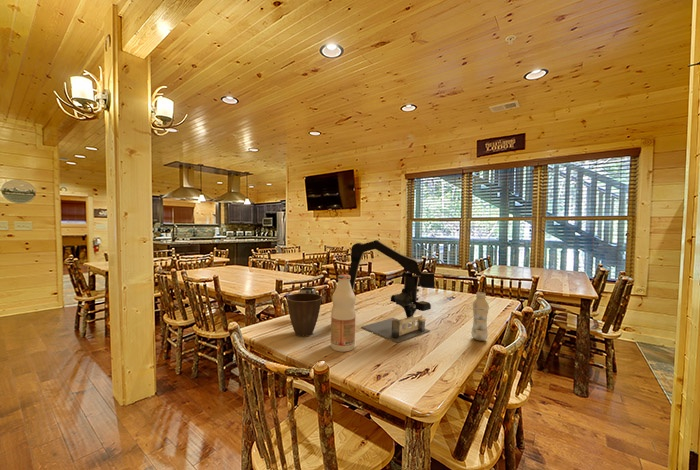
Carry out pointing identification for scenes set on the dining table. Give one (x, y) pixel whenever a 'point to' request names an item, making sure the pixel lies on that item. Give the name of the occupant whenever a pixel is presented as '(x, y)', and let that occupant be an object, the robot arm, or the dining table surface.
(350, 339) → the fruit juice
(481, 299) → the plastic bottle
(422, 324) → the post
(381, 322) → the mat
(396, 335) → the hinge post
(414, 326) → the gate
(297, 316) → the plant pot
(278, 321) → the dining table surface
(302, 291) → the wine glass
